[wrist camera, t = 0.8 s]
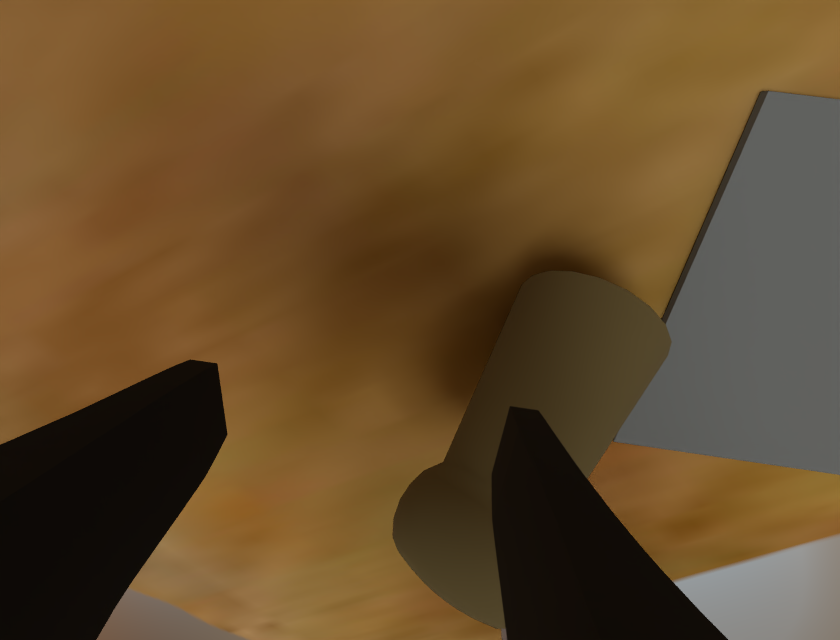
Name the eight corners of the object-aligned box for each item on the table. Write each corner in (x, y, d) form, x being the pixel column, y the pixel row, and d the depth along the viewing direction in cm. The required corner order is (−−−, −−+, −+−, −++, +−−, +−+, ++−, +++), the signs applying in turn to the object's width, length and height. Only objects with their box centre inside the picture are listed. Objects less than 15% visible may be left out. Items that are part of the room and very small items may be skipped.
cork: (493, 276, 18) (335, 510, 14) (628, 261, 13) (437, 621, 9) (562, 361, 20) (444, 578, 17) (697, 377, 15) (571, 696, 11)
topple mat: (862, 472, 21) (869, 478, 21) (611, 436, 22) (613, 441, 21) (1150, 138, 14) (1168, 139, 14) (761, 91, 14) (768, 91, 14)
